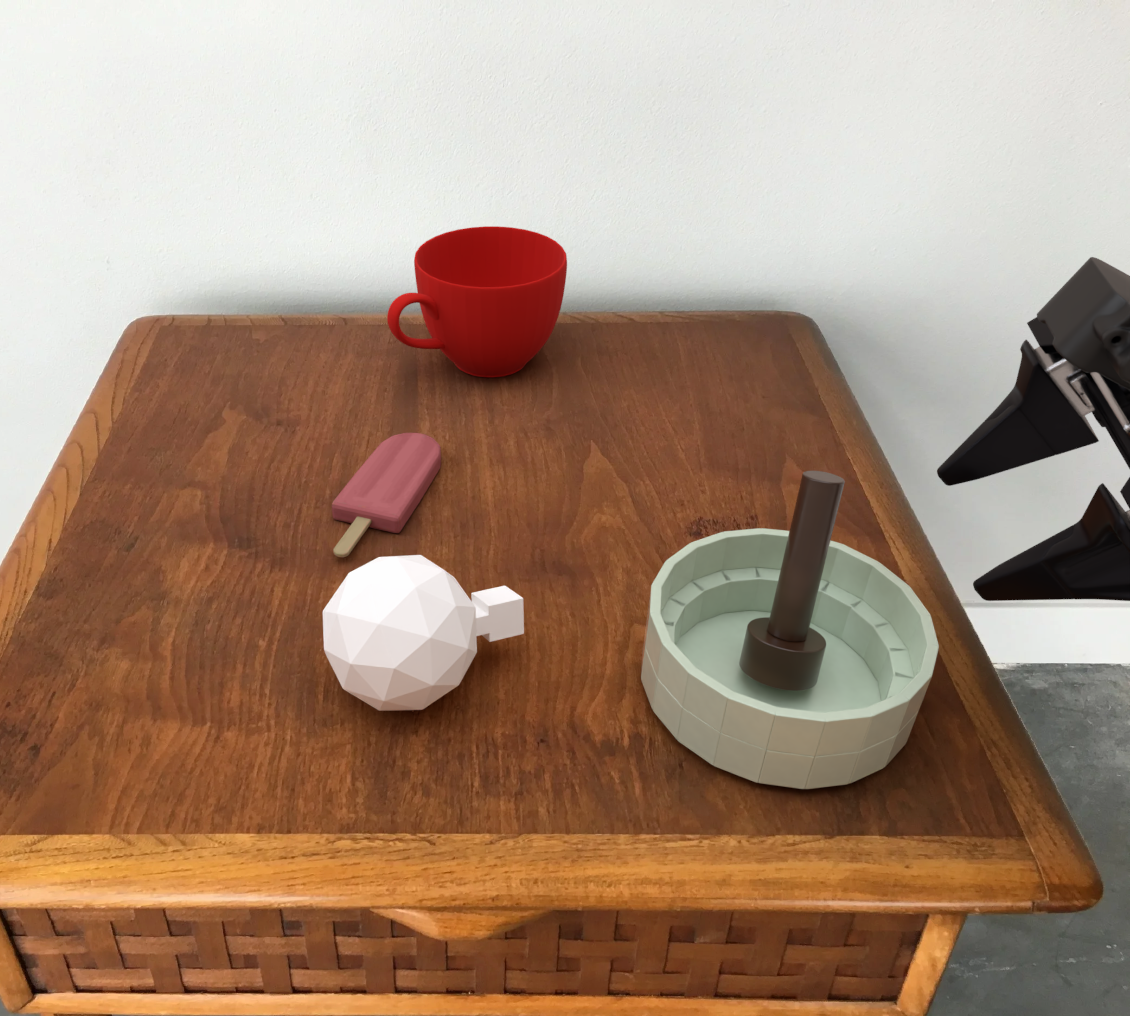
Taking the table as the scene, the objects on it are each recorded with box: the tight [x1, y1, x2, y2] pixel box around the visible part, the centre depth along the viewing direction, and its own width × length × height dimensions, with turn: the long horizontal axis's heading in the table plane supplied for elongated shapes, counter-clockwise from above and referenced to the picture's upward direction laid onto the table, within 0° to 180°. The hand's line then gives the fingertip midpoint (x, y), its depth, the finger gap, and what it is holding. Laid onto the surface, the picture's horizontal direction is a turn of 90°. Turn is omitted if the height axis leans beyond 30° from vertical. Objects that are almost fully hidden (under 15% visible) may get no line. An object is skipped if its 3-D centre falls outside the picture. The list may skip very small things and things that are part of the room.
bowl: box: [640, 527, 940, 790], centre depth 58 cm, size 15×15×6 cm
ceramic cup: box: [386, 225, 568, 378], centre depth 88 cm, size 13×17×10 cm
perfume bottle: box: [322, 554, 525, 712], centre depth 58 cm, size 9×9×12 cm
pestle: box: [739, 470, 846, 691], centre depth 57 cm, size 4×4×12 cm
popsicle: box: [331, 432, 442, 558], centre depth 74 cm, size 5×2×15 cm
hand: (958, 531), depth 51 cm, fingers open, 9 cm apart
